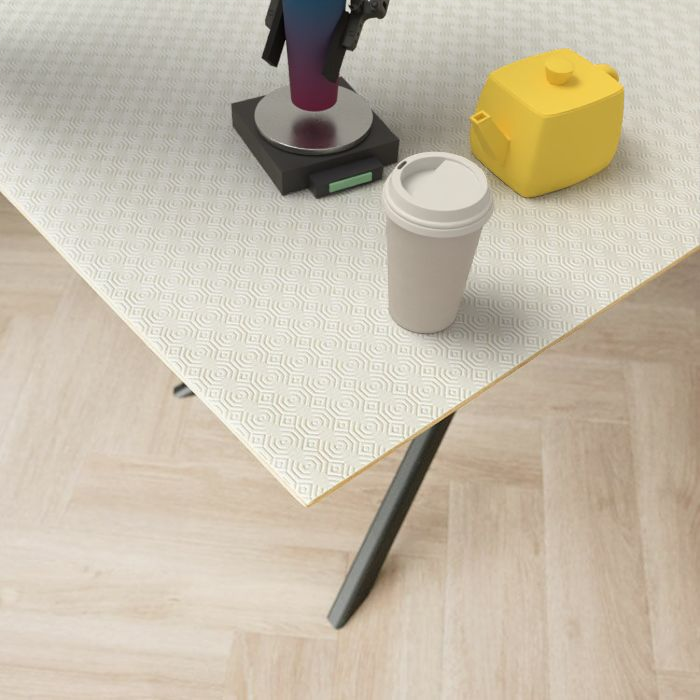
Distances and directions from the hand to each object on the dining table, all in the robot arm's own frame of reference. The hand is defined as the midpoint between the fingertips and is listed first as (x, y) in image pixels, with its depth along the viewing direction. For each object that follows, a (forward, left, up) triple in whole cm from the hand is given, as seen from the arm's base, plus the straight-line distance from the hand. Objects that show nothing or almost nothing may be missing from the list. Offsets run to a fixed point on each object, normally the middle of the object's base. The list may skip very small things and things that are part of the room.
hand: (298, 70), depth 92 cm
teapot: (+11, +24, -11) cm, 28 cm away
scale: (-1, +3, -11) cm, 12 cm away
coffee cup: (+26, +1, -11) cm, 28 cm away
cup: (-2, +3, -6) cm, 7 cm away
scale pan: (-2, +3, -8) cm, 9 cm away
